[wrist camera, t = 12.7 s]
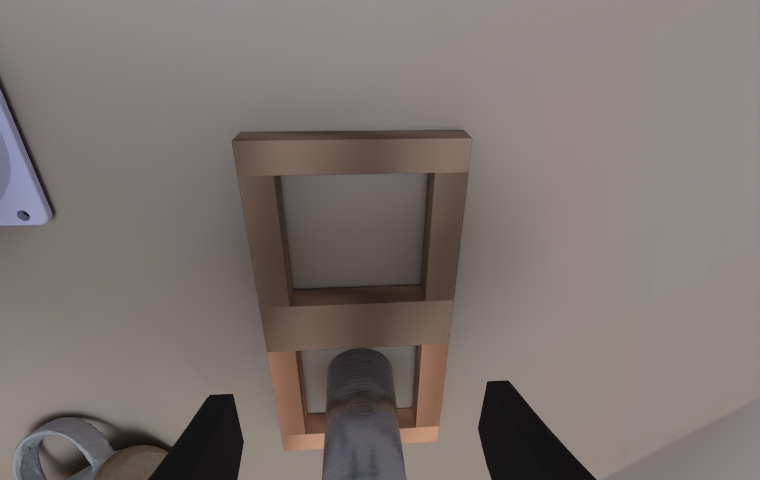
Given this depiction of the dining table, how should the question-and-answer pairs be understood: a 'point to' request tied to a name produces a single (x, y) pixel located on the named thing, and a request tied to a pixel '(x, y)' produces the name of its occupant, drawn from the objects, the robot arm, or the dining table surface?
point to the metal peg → (362, 419)
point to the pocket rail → (360, 304)
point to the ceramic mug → (87, 454)
